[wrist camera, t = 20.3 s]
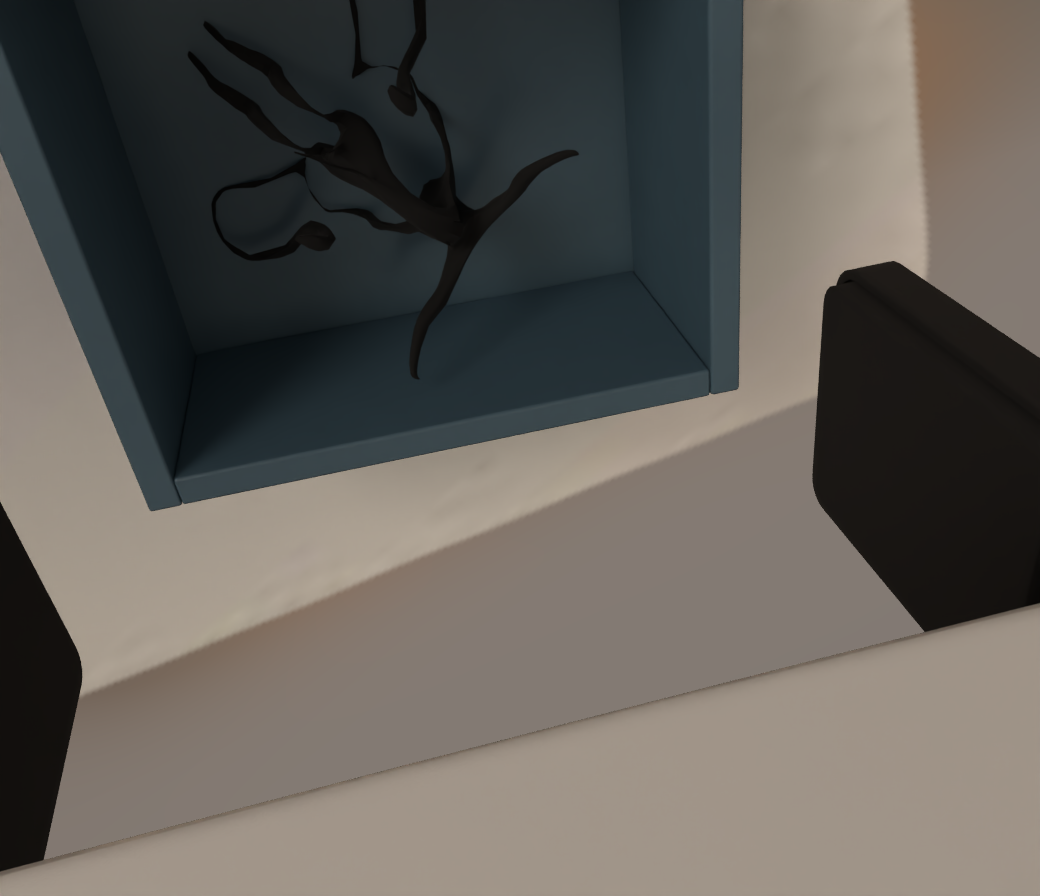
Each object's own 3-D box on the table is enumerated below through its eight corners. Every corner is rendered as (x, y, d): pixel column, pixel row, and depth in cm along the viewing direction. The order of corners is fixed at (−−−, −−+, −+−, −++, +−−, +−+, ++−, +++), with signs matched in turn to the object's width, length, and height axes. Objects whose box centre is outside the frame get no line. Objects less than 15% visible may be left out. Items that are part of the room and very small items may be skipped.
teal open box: (179, 369, 26) (150, 513, 21) (8, -108, 20) (-100, -83, 15) (650, 277, 28) (739, 390, 22) (630, -197, 21) (747, -205, 16)
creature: (141, 175, 24) (413, 351, 26) (49, 222, 19) (391, 434, 21) (301, -123, 21) (589, 99, 23) (240, -157, 16) (612, 127, 18)
